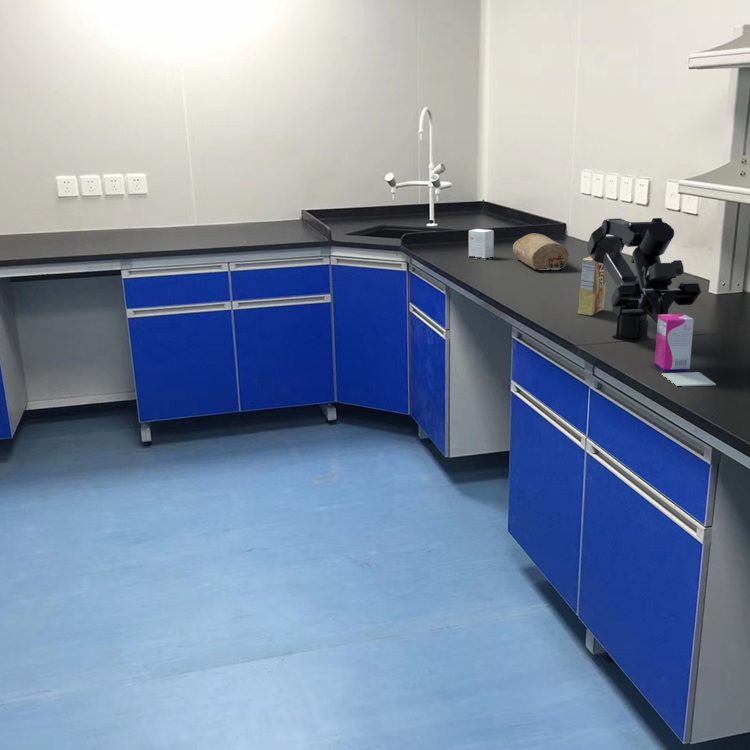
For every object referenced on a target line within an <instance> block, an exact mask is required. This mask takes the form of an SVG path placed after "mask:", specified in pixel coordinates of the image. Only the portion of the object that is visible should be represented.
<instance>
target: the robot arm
mask: <svg viewBox="0 0 750 750" xmlns="http://www.w3.org/2000/svg"><path fill="white" fill-rule="evenodd" d="M674 236H675V229H674V228H673V227H672V226H671V225H670V224H668V223H667V222H664V221H663V218H662V217H654V218H652V219H651V221H636V222H635V221H633V222H632V221H628V220H625V219H622V218H606V219H603V221H602V223H601V225H600V226H599V227H598V228H597V229H595V230H594V231H593V232H592V233H591V235H590V237H589V240H588V241H587V248H586V249H587V253H588V255H589V257H591V258H592V259H593V260H594V261H596V262H599V263H602V264H604V266H605V267H606V269H607V273H608V274H609V275H610V277H611V279H612V280H613V281H614V283H615V285H616V288H615V290H614V291H613V293H612V295H611V305H612V306H611V307H612V308H611V309H612V312H613V313H614V314H615V315H617V316H616V317H617V318H616V330H615V331H616V332H615V334H612V338H613V339H618V340H623V341H627V342H628V341H629V342H633V343H635V342H639V341H642V340H646V339H648V338H650V335H648V330H649V329H648V328H649V320H647V319H648V316H649V317H650V318H651V319H652V320H653V321H654V322H655V323H656V324H657V322H658V315H660V314H669V309H670V307H671V306H672V305H673V303H675V304H676V305H677V306H691V305H693V304H694V303H695V301H696V300H697V298H698V297H699V296H700V294H701V293H702V289H701V285H700V284H699V283H698V282H695V281H690V282H680V283H679V285H678V286H677V288H668V287H669V286H671V285H672V283H673V282H672V280H673V279H676V278H677V276H678V277H679V276H681V275H683V274H684V271H685V269H684V268H685V267H684V264H683V261H682V260H680V259H678V260H677V259H675V260H673V261H671V262H662V260H661V257H660V256H662V255H663V254H665V252H666V250H667V249H668V247H669V245H670V244H671V242H672V240H673V239H674ZM625 246H626V247H627V248H632V247H633V248H634V250H633V251H632V254H631V255H632V256H631V260H630V261H631V264H634V268H635V272H636V274H635V273H634V271H633V270H632V268H631V267H630V265H629V263H627V261H626V259H625V258H624V257H623V254H622V251H623V249H624V247H625Z"/></svg>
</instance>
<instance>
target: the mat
mask: <svg viewBox="0 0 750 750" xmlns="http://www.w3.org/2000/svg"><path fill="white" fill-rule="evenodd" d="M662 375H663V377H664V378H665V377H666V378H667V379H666V378H665V379H666V380H667V381H669V380H670V381H671V382H670V381H669V382H670V383H672V384H673V383H674V384H675V385H676V387H677V386H682V387H701V386H702V387H703V386H704V387H707V386H708V387H709V386H717V384H716V383H715V382H714V381H713V380H711V379H709V378H708V377H707V376H705V375H704V374H703V373H701V372H699V371H694V372H693V371H692V372H689V371H686V372H662V373H661V376H662ZM674 384H673V385H674ZM675 385H674V386H675Z"/></svg>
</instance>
